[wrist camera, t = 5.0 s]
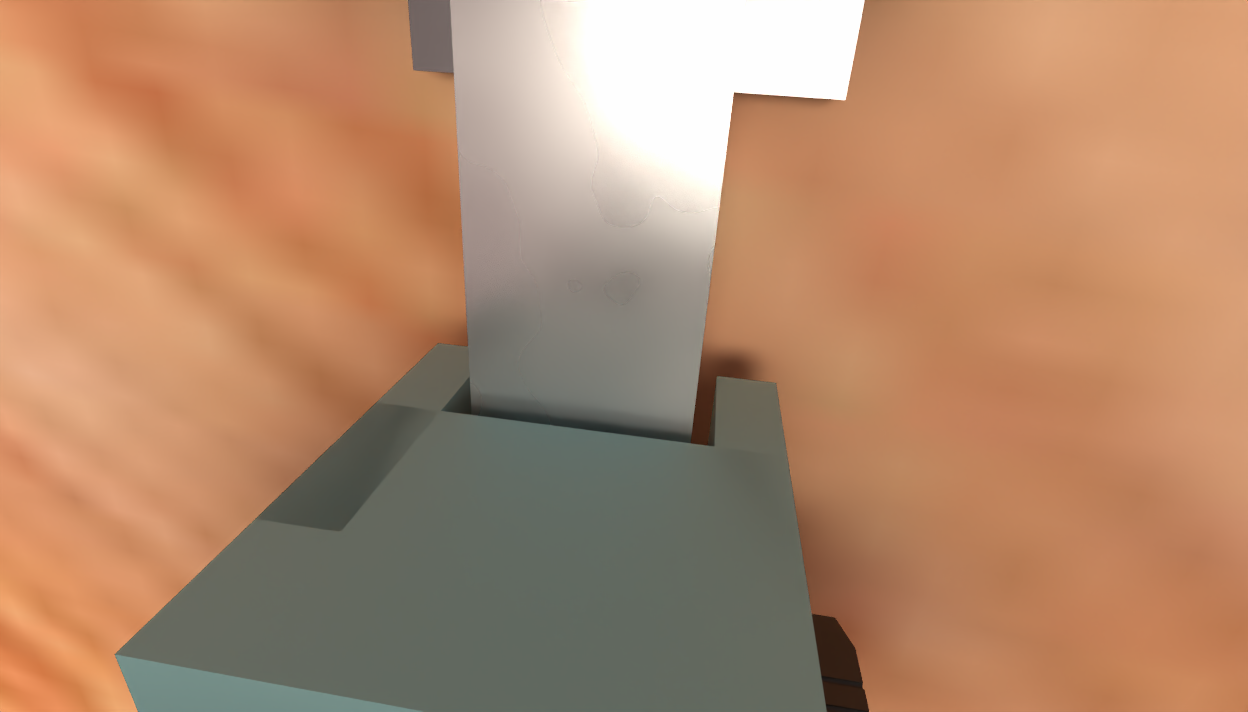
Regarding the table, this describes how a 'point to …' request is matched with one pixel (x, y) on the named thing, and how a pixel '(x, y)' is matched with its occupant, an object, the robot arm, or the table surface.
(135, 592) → the table surface
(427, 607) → the carriage
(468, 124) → the rail
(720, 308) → the table surface
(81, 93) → the table surface
